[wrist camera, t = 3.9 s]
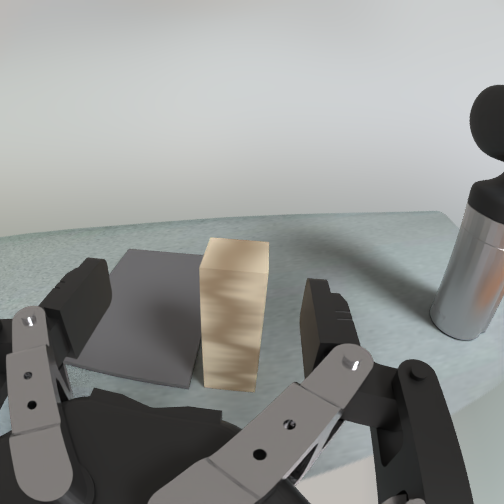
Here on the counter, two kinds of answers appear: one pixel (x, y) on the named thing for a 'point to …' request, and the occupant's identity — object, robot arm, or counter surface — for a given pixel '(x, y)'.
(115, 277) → the mat
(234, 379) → the wooden block
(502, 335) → the counter surface
